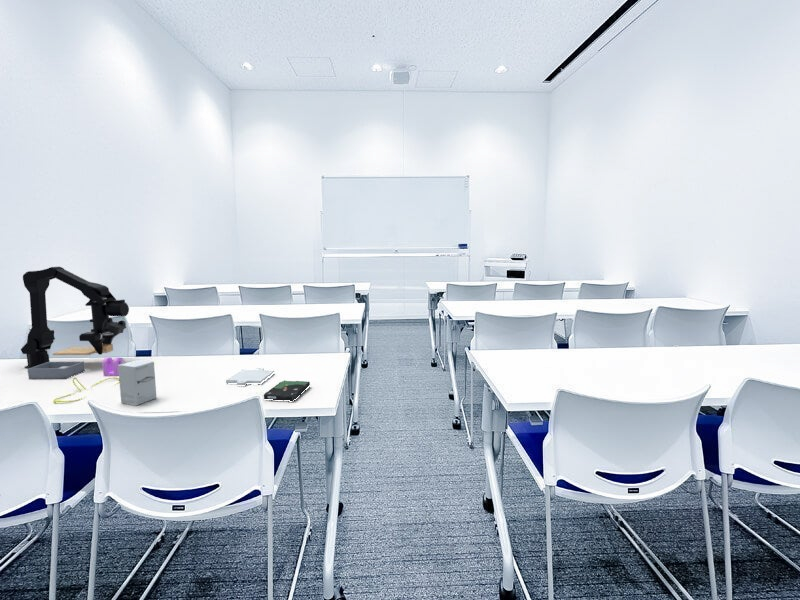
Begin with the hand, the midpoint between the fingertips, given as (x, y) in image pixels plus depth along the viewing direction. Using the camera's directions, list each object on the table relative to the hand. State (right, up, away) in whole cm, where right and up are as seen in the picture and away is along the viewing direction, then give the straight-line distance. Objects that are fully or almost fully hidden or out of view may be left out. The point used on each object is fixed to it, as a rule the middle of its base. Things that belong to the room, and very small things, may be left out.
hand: (104, 353), depth 181 cm
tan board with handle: (-7, +1, 0) cm, 7 cm away
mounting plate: (+67, -8, -18) cm, 70 cm away
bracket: (+12, -7, -7) cm, 16 cm away
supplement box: (+39, -11, -40) cm, 56 cm away
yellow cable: (+15, -10, -30) cm, 35 cm away
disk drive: (+85, -10, -34) cm, 92 cm away
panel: (-10, -7, -12) cm, 17 cm away
